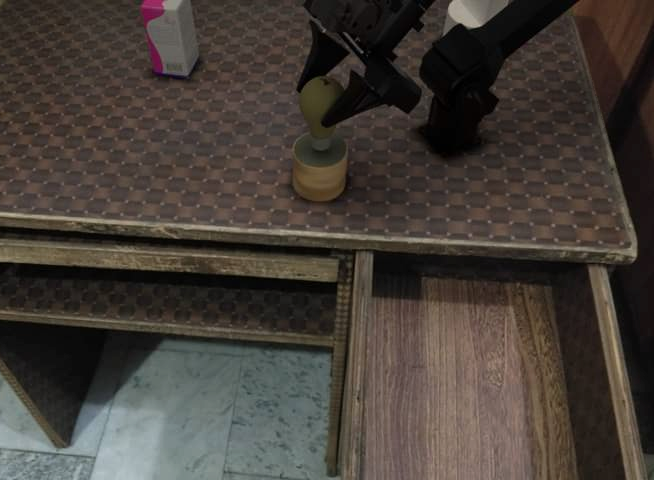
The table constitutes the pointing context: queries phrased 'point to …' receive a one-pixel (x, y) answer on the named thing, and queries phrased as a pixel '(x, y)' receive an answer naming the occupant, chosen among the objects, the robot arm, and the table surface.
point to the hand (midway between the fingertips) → (310, 108)
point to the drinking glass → (472, 12)
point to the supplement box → (171, 36)
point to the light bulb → (319, 108)
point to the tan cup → (319, 168)
